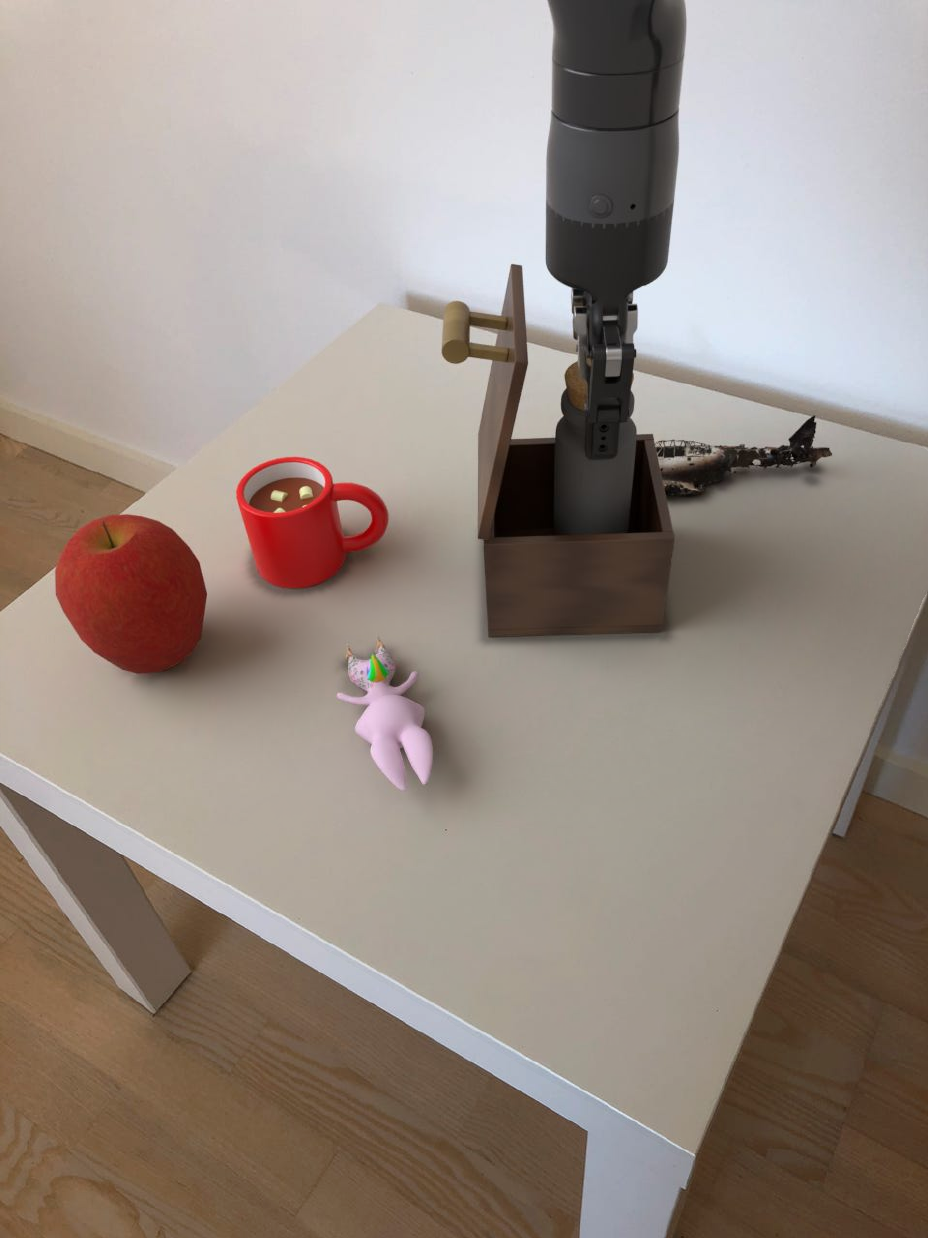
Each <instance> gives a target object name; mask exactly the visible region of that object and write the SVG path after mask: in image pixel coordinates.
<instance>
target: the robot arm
mask: <svg viewBox="0 0 928 1238" xmlns="http://www.w3.org/2000/svg"><path fill="white" fill-rule="evenodd" d="M546 1H547V5H548V6H547V7H548V8H549V13H550V17H551V18H550V19H551V22H552V44H551V90H550V91H551V94H550V97H551V99H550V100H551V103H550V104H551V105H550V107H551V110H550V122H549V130H548V137H547V143H546V154H545V155H546V157H545V158H546V159H545V266H546V269H547V270H548V273H549V274H550V275H551V276H552V277H553V278H554V280H556V281H557V282H558V283H560V284H562V285H564V286H566V287H568V288H570V289H571V291H570V304H571V314H572V336H573V340H575V341H577V344H575V352H576V353H577V361H578V374H579V376H580V378H581V379H582V380H584V381H585V403H584V411H586V429H585V455H586V457H587V458H588V459H590V460H600V459H613V458H615V457H616V456H617V453H618V441H619V428H620V422H627V418H628V417H629V401H630V393H631V391H632V386H631V384H632V385H633V383H632V376H633V374H634V365H635V358H637V349H636V348H635V343H634V335H635V333H636V332H637V330H638V323H639V321H638V320H639V319H638V317H639V308H638V303H633V302H634V292H635V291H637V290H638V289H640V288H642V287H645V286H647V285H650V284H651V283H653V282H654V281H656V280H658V279H659V278H660V277H661V275H663V273H664V271H665V270H666V268H667V265H668V262H669V255H670V254H669V253H670V245H671V233H672V224H673V216H674V205H675V198H676V188H677V187H676V186H677V175H678V166H679V156H680V154H679V153H680V130H679V129H680V125H679V119H680V118H679V117H680V105H681V104H680V102H681V95H682V83H683V74H684V65H685V52H686V43H687V30H688V29H687V27H688V26H687V25H688V24H687V23H688V21H687V7H686V0H546ZM587 358H590V360H591V366H590V365H588V363H587Z"/></svg>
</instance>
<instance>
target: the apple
mask: <svg viewBox="0 0 928 1238" xmlns="http://www.w3.org/2000/svg"><path fill="white" fill-rule="evenodd" d="M54 575H55V576H54V580H55V581H54V582H55V598H56V599H57V601H58V603H59V605H60V608H61V610H62V612H63V613H64V615H65V617H66V618H67V620H68V622H69V623H70V624H71V626H72V628H73V630H74V631H75V632H76V634H77V636H78V637H79V639H80V641H82V642H83V643H84V644H85V645H86V646H87V647H88V648H89V650H91V651H92V652H93V653H94V654H96V655H98V656H99V657H101V658H103V659H104V660H105V661H107V662H109V663H110V664H112V665H114V666H115V667H117V668H118V669H120V670H122V671H126V672H128V673H129V672H130V673H133V674H137V675H143V674H154V673H160V672H163V671H165V670H167V669H171V668H173V667H174V666H176V665H177V664H179V663H180V662H182V661H183V660H184V659H186V658H187V657H189V656H190V655H191V654H193V652H194V651H195V649H196V648H197V646H198V645H199V644H200V641H201V640H202V635H203V627H204V619H205V613H206V607H207V604H206V603H207V597H208V592H207V588H206V583H205V578H204V575H203V570H202V565H201V562H200V561H199V559H198V558H197V556H196V555H195V553H194V552H193V550H192V548H191V547H190V546H189V545H188V544H187V542H185V540H183V539H182V537H181V536H180V535H179V534H178V533H177V532H176V531H175V530H174V529H173V528H171V527H170V526H168V525H166V524H164V523H163V522H161V521H160V520H157V519H153V518H151V517H150V518H149V517H146V516H143V515H135V514H127V513H126V514H110V515H106V516H103V517H100V518H95V519H93V520H91V521H90V522H88V523H87V524H85V525H83V526H82V527H80V528H79V529H78V530H77V531H76V532H75V533H74V534H73V535H72V536H71V538H69V540H68V541H67V543H66V544H65V547H64V548H63V550H61V553H60V555H59V558H58V561H57V563H56V566H55V570H54Z"/></svg>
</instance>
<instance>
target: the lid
mask: <svg viewBox="0 0 928 1238" xmlns="http://www.w3.org/2000/svg"><path fill="white" fill-rule="evenodd" d="M523 273H524V272H523V265H522V264H515V263H510V266H509V273H508V276H507V277H508V278H507V283H506V288H505V293H504V299H503V303H502V309H501V314H500V315H497V314H490V313H484V312H476V311H471V309H470V307H469V306H468V305H467V303H465V302H464V301H461V300H453V301H450V302H448V303H447V304H446V305H445V307H444V308H443V315H442V317H443V318H442V335H441V355H442V357H443V359H444V360H445V361H446V362H448V363H450V364H454V365H459V364H461V363H463V362H466V361H467V359H468V358H472V359H480V360H488V361H491V364H490V371H489V375H488V381H487V387H486V391H485V398H484V400H483V401H484V402H483V407H482V412H481V418H480V422H479V427H478V432H477V539H478V540H481V541H483V540H488V539H489V536H490V531H491V527H492V522H493V518H494V513H495V509H496V504H497V500H498V495H499V491H500V487H501V482H502V478H503V473H504V469H505V464H506V460H507V455H508V451H509V447H510V442H511V439H513V433H514V429H515V424H516V419H517V415H518V410H519V406H520V402H521V398H522V394H523V390H524V389H523V388H524V384H525V380H526V375H527V371H528V366H529V354H528V339H527V321H526V307H525V306H526V305H525V289H524V274H523ZM471 326H473V327H479V328H487V329H493V330H497V334H496V340H495V345H490V344H484V343H477V342H471Z"/></svg>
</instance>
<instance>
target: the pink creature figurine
mask: <svg viewBox="0 0 928 1238" xmlns="http://www.w3.org/2000/svg"><path fill="white" fill-rule="evenodd" d="M376 636H377V643H376V648H375V650H374V653H375V654H374V653H371V656H370V658H368V659H361V658H359V656H357V655H356V654H354V653H353V652H352V651H351V648H350V646H349V644H348V643H346V648H347V649H346V655H345V661H348V663H347V673H348V677H349V680H350V681H351V683H353V684H354V685H355V686H356V687H358V688H360V689H362V690H364V691H365V692H367V693H366V694H365V695H364V696H352V695H348V694H346V693H345V692H343V691H342V692H341V691H340V692H338V693H336V699H338V700H339V701H342V702H345V703H349V704H353V705H358V706H367V707H366V709H365V710H364V711H363V713H362V714H361V716H360V717H359V718H358V720H357V722H356V724H355V727H354V731H355V733H356V734H357V735H358V737H359V736H360V738H361V739H364V740H365V741H366V742H367V743H369V744H370V751H369V752H370V756H371V758H372V759H373V761H374V763H375V764H376V766H377V767H378V768H379V770H380V771H381V772H382V773H383V774H384V776H385V777H386V778H387V779H388V780H389V781H390V782H391V783H392V784H393V785H394V786H395V788H397V789H399V790H400V791H401V792H406V791H407V790H408V785H407V775H406V774H407V773H406V766H405V761H404V758H403V755H402V752H401V749H403V750H404V752H405V755H406V757H407V759H408V761H409V764H410V765H411V768H412V770H413V771H414V773H415V774H416V776H417V777H418V778H419V780H420V783H421V784H422V785H423V786H425V785H426V786H427V784H428V783H429V781H430V780H431V779H430V778H431V774H432V768H433V760H434V747H433V740H432V737H431V735H430V733H429V732H428V731H427V730H426V729H424V728H422V726H423V724H424V723H423V722H424V718H425V716H426V710H425V707H423V706H422V705H421V704H419V703H417V702H416V701H413V700H412V699H409V698H408V697H405V696H402V695H403V694H405V692H406V691H408V690H409V689H410V688H411V687H412V686H413V684H414V683H415V681H417V680H418V677H419V672H418V671H417V670H413V671H412V672H411V673H410V675H409V677H408V678H407V680H406V681H405V682H403V683H402V684H400V685H398V686H392V685H390V684H391V681H392V680H393V678H394V675H395V672H396V664H395V660H394V658H393V657H392V656H391V654H390V653H389V651H388V650H387V648H386V646H385V645H384V643H383V642H382V641H381V639H380V636H379V635H378V634H377V635H376Z"/></svg>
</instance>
